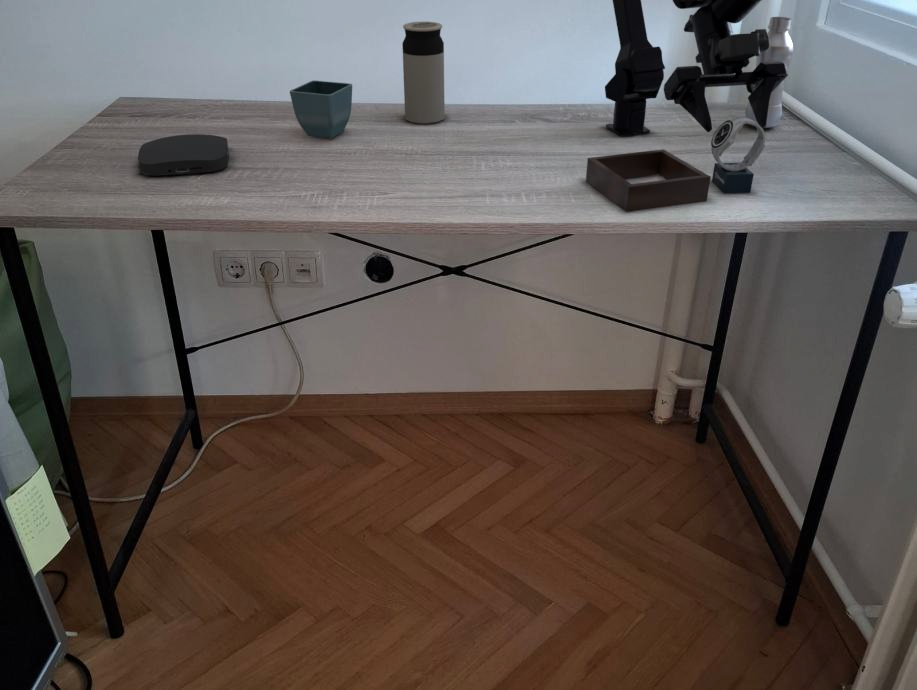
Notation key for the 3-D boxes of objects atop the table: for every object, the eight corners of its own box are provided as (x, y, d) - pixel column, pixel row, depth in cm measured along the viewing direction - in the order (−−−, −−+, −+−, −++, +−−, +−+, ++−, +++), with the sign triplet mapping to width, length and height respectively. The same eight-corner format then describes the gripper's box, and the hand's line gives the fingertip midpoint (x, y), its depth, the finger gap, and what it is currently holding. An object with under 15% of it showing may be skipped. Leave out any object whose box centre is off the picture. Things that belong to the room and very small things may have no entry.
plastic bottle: (780, 132, 159) (803, 22, 149) (744, 130, 160) (763, 21, 150) (776, 122, 165) (797, 15, 154) (741, 120, 166) (760, 14, 155)
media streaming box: (147, 151, 150) (143, 135, 148) (230, 146, 152) (227, 130, 151) (137, 179, 138) (133, 161, 136) (228, 173, 140) (225, 155, 139)
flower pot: (293, 138, 156) (287, 90, 152) (317, 125, 163) (312, 79, 159) (334, 144, 154) (330, 95, 149) (356, 130, 161) (353, 83, 156)
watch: (700, 181, 136) (710, 115, 130) (747, 180, 137) (760, 113, 131) (712, 194, 131) (723, 125, 126) (761, 192, 132) (774, 124, 126)
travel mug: (452, 117, 168) (451, 23, 159) (430, 127, 163) (428, 30, 153) (419, 111, 172) (417, 19, 163) (397, 120, 166) (393, 26, 157)
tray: (585, 181, 136) (587, 157, 134) (660, 172, 140) (663, 149, 138) (626, 212, 125) (629, 186, 123) (706, 201, 129) (710, 176, 127)
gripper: (681, 12, 124) (704, 105, 121) (794, 7, 127) (819, 98, 124) (653, 54, 135) (673, 142, 131) (758, 49, 138) (780, 134, 135)
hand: (736, 129), depth 130 cm, fingers open, 9 cm apart
